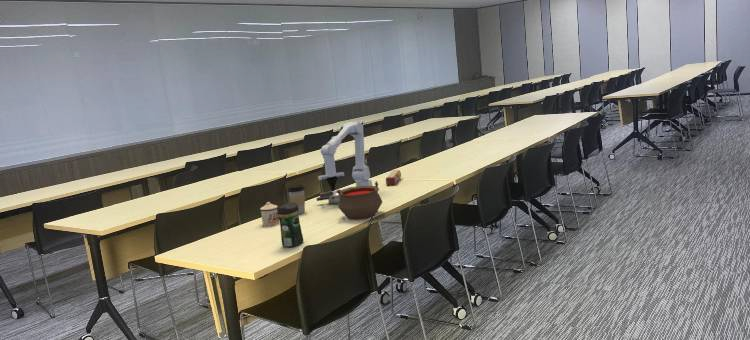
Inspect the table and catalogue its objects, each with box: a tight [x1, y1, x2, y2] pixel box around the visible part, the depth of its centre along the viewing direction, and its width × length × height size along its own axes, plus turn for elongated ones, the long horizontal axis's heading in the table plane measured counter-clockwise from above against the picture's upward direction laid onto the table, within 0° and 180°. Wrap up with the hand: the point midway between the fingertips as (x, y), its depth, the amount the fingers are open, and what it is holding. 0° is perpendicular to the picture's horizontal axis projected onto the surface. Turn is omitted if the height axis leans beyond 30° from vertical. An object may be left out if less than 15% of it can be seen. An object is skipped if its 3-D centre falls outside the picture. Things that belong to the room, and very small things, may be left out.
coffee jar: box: [277, 202, 304, 248], centre depth 253 cm, size 10×8×19 cm
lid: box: [318, 189, 340, 198], centre depth 327 cm, size 20×14×4 cm
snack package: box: [385, 169, 402, 187], centre depth 368 cm, size 21×7×7 cm, turn 167°
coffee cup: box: [287, 184, 306, 216], centre depth 312 cm, size 9×9×15 cm
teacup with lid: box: [259, 201, 280, 228], centre depth 296 cm, size 12×9×12 cm
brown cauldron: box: [337, 180, 383, 221], centre depth 290 cm, size 24×24×16 cm
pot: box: [315, 196, 340, 206], centre depth 329 cm, size 22×13×4 cm, turn 103°
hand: (333, 190), depth 319 cm, fingers closed
